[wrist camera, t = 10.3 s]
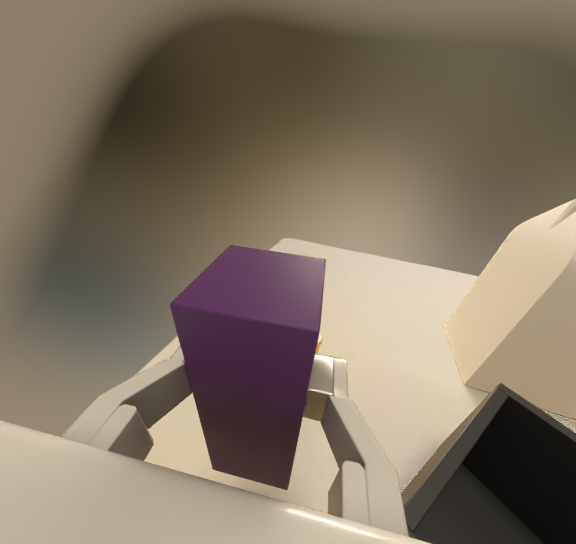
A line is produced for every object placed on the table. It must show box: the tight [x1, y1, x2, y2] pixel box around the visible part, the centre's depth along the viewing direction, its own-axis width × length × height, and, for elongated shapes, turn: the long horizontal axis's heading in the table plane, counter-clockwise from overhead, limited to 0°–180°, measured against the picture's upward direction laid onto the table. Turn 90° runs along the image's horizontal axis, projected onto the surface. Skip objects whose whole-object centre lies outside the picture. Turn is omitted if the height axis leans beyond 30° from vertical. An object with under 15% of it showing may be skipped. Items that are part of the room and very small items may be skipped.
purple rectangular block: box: [170, 245, 326, 490], centre depth 9 cm, size 4×4×10 cm
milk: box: [443, 199, 576, 420], centre depth 26 cm, size 12×12×26 cm
